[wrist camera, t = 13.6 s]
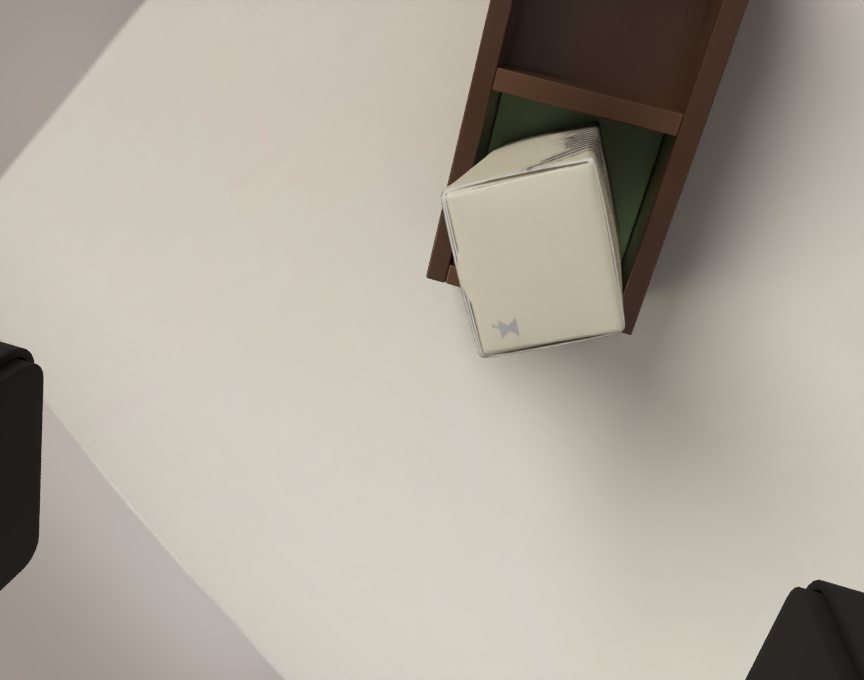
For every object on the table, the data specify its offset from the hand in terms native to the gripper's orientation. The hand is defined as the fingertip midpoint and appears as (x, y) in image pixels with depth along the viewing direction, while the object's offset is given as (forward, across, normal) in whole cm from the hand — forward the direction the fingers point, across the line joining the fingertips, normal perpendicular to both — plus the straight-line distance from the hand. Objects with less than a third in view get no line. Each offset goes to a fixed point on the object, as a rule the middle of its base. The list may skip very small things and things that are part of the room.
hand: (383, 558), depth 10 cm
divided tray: (+27, -2, -4) cm, 27 cm away
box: (+26, -1, 0) cm, 26 cm away
